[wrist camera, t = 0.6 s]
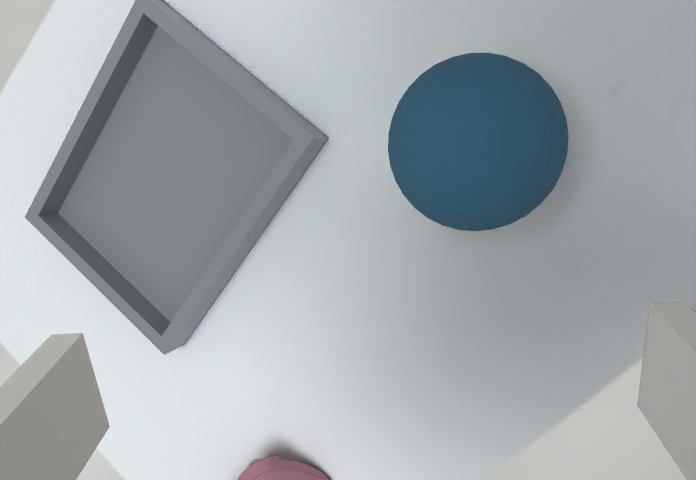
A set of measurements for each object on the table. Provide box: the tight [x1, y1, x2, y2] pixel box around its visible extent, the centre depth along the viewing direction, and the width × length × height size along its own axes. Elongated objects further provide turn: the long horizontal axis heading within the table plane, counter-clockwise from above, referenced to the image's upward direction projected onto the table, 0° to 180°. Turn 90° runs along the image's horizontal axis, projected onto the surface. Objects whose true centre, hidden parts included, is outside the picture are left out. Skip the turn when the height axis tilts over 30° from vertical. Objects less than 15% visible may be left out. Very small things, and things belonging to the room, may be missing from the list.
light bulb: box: [388, 53, 568, 231], centre depth 29 cm, size 8×8×12 cm
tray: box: [25, 0, 328, 355], centre depth 42 cm, size 20×16×2 cm
